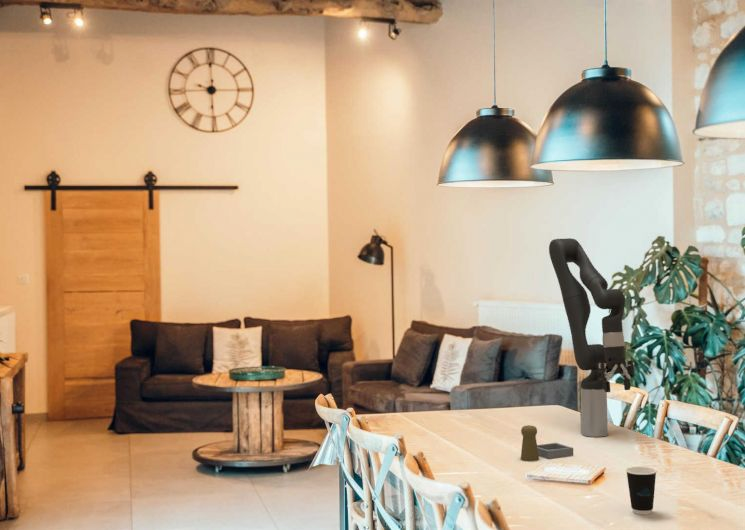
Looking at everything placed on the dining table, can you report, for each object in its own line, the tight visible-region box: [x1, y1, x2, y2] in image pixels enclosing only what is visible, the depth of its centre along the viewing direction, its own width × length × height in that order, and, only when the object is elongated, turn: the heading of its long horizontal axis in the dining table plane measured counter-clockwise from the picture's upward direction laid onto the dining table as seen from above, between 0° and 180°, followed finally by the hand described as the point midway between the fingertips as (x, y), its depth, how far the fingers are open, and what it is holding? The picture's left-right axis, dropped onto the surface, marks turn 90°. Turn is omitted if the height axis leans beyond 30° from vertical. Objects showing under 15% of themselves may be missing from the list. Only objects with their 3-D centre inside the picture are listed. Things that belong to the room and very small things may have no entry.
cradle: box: [537, 442, 574, 460], centre depth 320 cm, size 10×10×3 cm
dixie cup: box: [625, 466, 658, 515], centre depth 249 cm, size 8×8×11 cm
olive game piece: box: [520, 424, 540, 462], centre depth 315 cm, size 6×6×11 cm
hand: (617, 391), depth 338 cm, fingers open, 8 cm apart
